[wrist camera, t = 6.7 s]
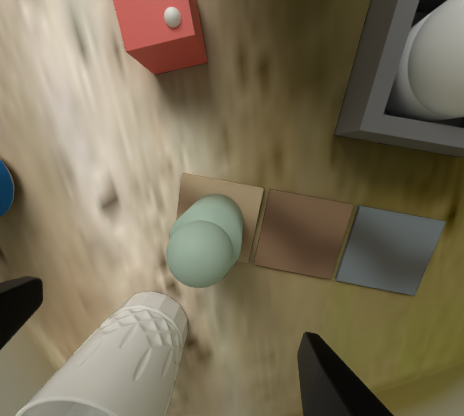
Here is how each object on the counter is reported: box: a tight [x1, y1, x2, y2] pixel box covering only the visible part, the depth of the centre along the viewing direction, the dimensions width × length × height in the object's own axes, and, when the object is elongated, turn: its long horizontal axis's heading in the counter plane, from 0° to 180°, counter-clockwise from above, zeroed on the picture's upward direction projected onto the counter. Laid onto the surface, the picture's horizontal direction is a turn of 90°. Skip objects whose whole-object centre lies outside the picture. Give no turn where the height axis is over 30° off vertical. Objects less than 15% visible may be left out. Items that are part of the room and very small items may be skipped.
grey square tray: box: [334, 0, 464, 157], centre depth 14 cm, size 9×9×4 cm
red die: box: [113, 0, 208, 75], centre depth 14 cm, size 4×4×4 cm
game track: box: [176, 173, 446, 296], centre depth 19 cm, size 6×20×1 cm, turn 80°
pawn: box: [166, 194, 243, 288], centre depth 15 cm, size 4×4×8 cm
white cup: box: [15, 291, 188, 416], centre depth 17 cm, size 8×8×10 cm
